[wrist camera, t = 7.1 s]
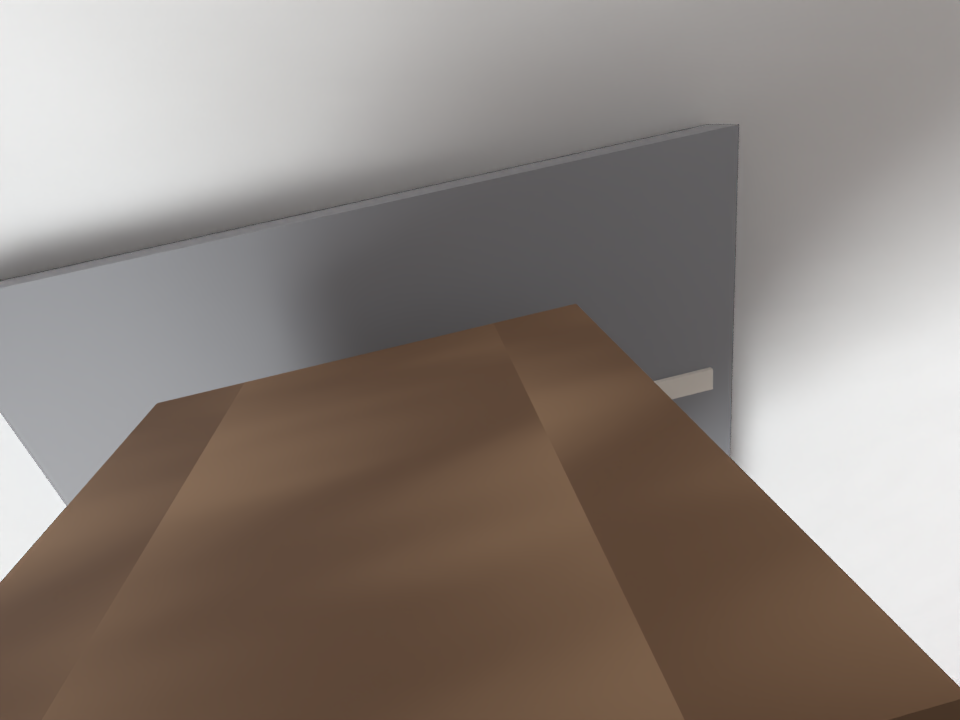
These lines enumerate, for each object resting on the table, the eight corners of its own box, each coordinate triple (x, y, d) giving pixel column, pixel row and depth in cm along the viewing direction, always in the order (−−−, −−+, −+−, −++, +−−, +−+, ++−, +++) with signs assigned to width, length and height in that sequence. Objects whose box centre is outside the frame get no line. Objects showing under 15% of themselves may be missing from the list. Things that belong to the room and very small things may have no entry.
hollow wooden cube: (575, 303, 8) (1040, 768, 2) (610, 591, 11) (853, 1126, 5) (157, 402, 8) (-582, 1247, 2) (304, 672, 10) (188, 1341, 5)
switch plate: (707, 124, 10) (1016, 124, 5) (707, 512, 14) (871, 719, 9) (-31, 287, 9) (-524, 474, 4) (204, 643, 14) (93, 940, 9)
